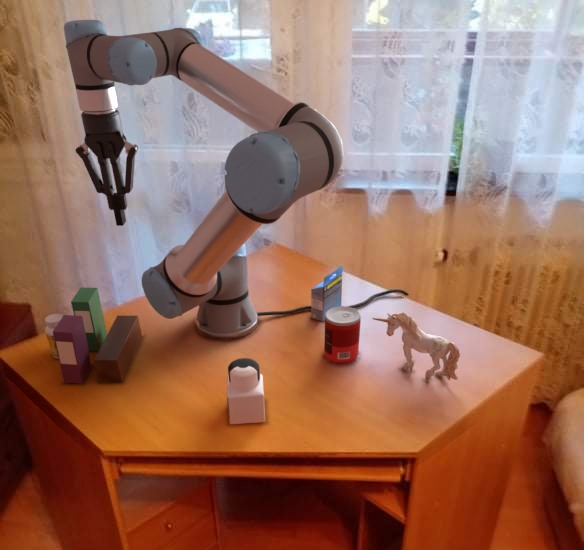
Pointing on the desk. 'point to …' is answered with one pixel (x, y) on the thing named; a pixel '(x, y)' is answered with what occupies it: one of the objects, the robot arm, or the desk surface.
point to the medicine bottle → (245, 392)
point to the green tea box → (90, 316)
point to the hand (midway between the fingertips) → (121, 223)
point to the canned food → (342, 334)
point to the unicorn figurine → (424, 345)
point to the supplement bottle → (51, 324)
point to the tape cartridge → (326, 295)
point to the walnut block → (118, 349)
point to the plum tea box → (72, 348)
